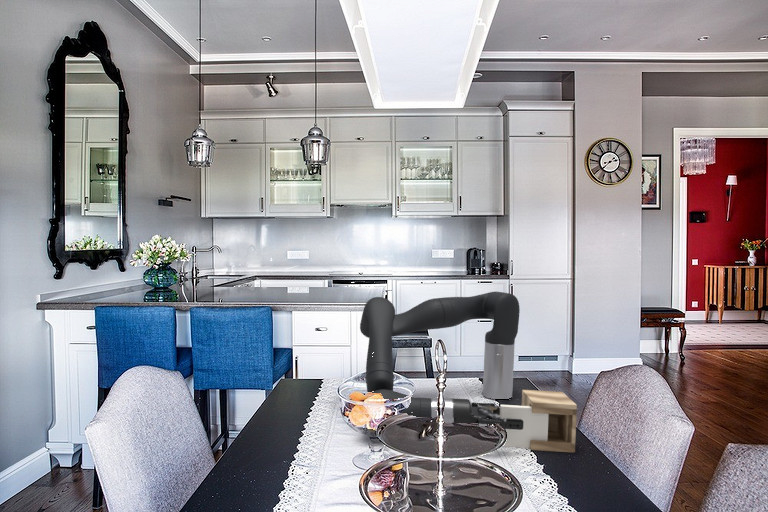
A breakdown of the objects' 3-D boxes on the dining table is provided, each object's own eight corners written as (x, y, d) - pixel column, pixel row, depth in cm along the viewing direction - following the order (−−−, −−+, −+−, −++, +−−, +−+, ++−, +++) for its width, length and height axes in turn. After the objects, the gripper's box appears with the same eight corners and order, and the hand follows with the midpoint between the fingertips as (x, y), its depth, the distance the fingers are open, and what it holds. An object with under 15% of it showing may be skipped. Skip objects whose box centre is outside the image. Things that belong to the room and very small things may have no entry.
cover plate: (498, 443, 120) (500, 404, 120) (545, 446, 120) (546, 407, 120) (499, 446, 119) (501, 406, 119) (547, 449, 118) (548, 409, 118)
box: (520, 432, 129) (522, 389, 128) (560, 435, 128) (562, 391, 128) (531, 449, 117) (533, 402, 117) (574, 452, 117) (576, 405, 117)
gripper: (446, 420, 127) (512, 424, 127) (451, 441, 113) (525, 445, 112) (448, 390, 127) (513, 394, 127) (453, 407, 113) (526, 412, 112)
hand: (518, 418), depth 119 cm, fingers open, 8 cm apart
